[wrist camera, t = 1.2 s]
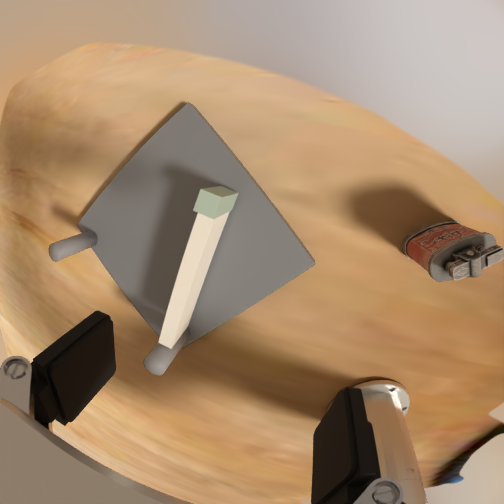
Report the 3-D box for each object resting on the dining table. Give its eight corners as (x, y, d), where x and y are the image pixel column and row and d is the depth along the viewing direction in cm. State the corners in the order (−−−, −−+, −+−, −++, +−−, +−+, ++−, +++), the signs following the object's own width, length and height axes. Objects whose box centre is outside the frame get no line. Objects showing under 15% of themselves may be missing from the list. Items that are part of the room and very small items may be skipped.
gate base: (314, 260, 29) (320, 294, 20) (178, 346, 35) (148, 389, 26) (193, 105, 26) (154, 82, 18) (84, 222, 32) (35, 237, 24)
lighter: (405, 263, 27) (444, 301, 18) (399, 234, 27) (441, 261, 17) (461, 242, 25) (511, 269, 16) (457, 214, 25) (510, 232, 15)
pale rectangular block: (189, 326, 31) (168, 355, 25) (175, 319, 31) (152, 346, 26) (238, 192, 26) (221, 197, 21) (221, 186, 26) (200, 188, 21)
